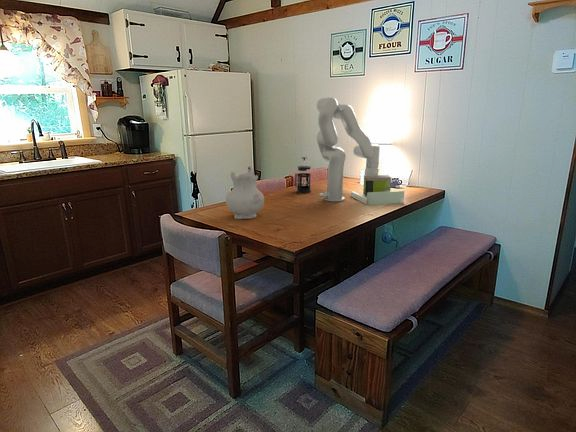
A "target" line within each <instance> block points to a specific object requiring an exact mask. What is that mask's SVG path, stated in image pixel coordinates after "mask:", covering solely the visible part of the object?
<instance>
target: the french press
mask: <svg viewBox="0 0 576 432" xmlns="http://www.w3.org/2000/svg"><path fill="white" fill-rule="evenodd" d="M301 159H302V160H303V162H305V160H306V159H308V157H305V156H302V157H301ZM311 168H312V166H311V165H310V166H309V165H299V166H298V165H297V171H299V172H298V173H295V174H294V187H296V193H297V192H298V193H297V194H310V193H311V192H312V190H311V188H312V187H311V177H312V174H311V173H307V172H306V171H307V170H311ZM303 178H305V180H303Z"/></svg>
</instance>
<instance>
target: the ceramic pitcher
mask: <svg viewBox="0 0 576 432" xmlns="http://www.w3.org/2000/svg"><path fill="white" fill-rule="evenodd" d="M230 178H231V181H232V184H233V188H232V190H230V191H229V192H227V194H226V196H225V203H226V207H227V208H228V210H229V211H230V212H231V213H232V214H234V217H233V218H234V219H235V220H243V219H244V220H245V219H248V220H249V219H250V220H251V219H255V218H257V217H258V215H257V214H256V213H258V212H260V211H261V210H262V208H263V207H264V203H265V196H264V194H263V193H262V192H261V191H260V190H259V189H258V188H257V187H258V186H257V181H258V179H259V176H258V174H256V175H255V170H254V168H253V166H248V167H247V173H241V174H239V175H236V172H235V171H232V172H230Z"/></svg>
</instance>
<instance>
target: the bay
mask: <svg viewBox="0 0 576 432" xmlns="http://www.w3.org/2000/svg"><path fill="white" fill-rule="evenodd" d="M350 197H352V198H354V199H355V200H357V201H359V202H361V203H363V204H364V205H367V206H375V205H377V206H378V205H387V204H389V205H390V204H402V203H404V198H405V190H390V191H385V192H369V193H367V197H364V196H363V195H362V194H360V193H358V192H356V191H354V190H353V191H350Z"/></svg>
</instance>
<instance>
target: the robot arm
mask: <svg viewBox="0 0 576 432" xmlns="http://www.w3.org/2000/svg"><path fill="white" fill-rule="evenodd" d="M316 110H317V111H318V112H319V114H318V117H317V124H318V127H319V131H318V132H317V134H316V142H317V145H318V148H319V151H320V154H321V157H322V158H323V160H325V161H326V162H328V166H327V171H326V172H327V179H326V180H327V181H326V191H325V192H323V193H319V194H318V196H319V198H323V199H324V201H327V202H334V203H336V202H343V201H345V200H346V197H345V196H343V193H344V191H343V189H344V170H345V169H344V168H345V162H346V151H344V149H342V147H339V146H338V147H337V146H336V145H337V144H338V142H339V136H338V132H337V130H336V126H335V124H334V123H335V122H334V119H337V120H340V121H341V123H342V125H343V127H344V130H345V132H346V134H347V136H349V137H350V138H351V139H353V140H354V141H355V142H356V144H357V145H355V146H354V148H353V151H352V152H353V154H354V155H355V156H356V157H358V158H363V159H365V160H366V161H365V168H364V169H365V170H364V175H379V163H380V162H379V161H380V158H379V157H380V146H379V144H372V142H371V140H370V138H369V136H368V135H367V134H366V132H365V131H364V130H363V129H362V128H361V126H360V123H359V121H358V119H357V116H356V113H355V112H354V111H355V110H354V109H353V107H352V106H351V105H349V104H339V102H338V100H337V99H336V98H335V97H322V98H319V99H318V100H317V102H316Z"/></svg>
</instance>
